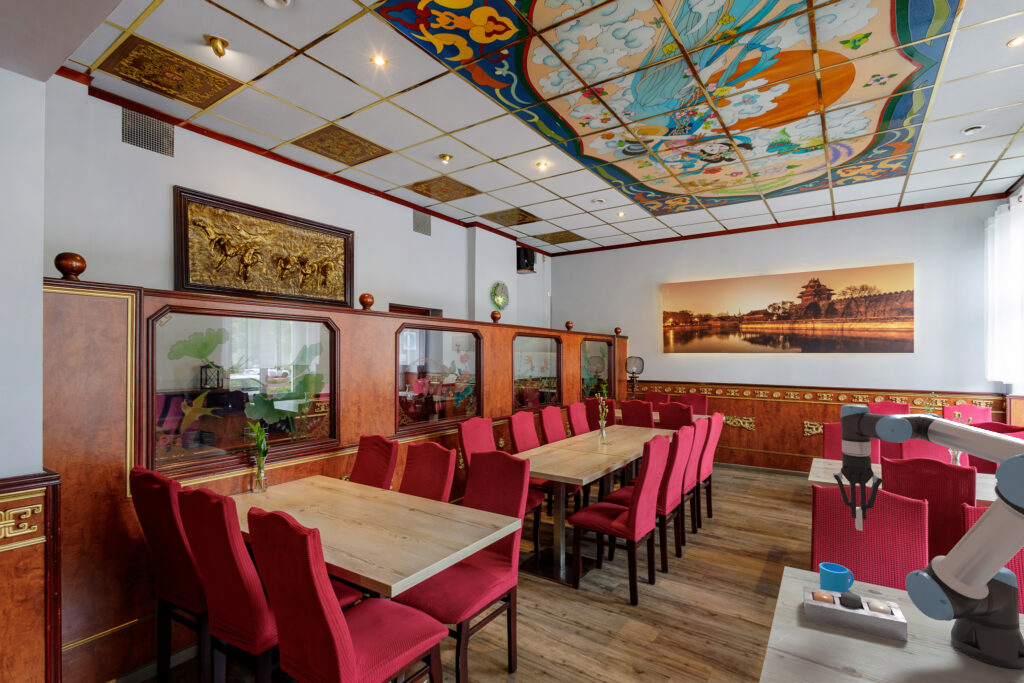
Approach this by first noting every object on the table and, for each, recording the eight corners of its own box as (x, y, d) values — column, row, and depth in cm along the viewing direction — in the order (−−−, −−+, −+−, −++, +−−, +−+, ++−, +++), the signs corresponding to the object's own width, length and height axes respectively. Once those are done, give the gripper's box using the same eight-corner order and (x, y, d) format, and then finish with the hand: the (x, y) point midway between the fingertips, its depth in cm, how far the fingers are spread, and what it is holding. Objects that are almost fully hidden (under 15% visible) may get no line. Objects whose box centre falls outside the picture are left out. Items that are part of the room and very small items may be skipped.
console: (897, 619, 143) (896, 602, 143) (907, 641, 132) (906, 622, 133) (803, 601, 154) (803, 586, 154) (806, 620, 144) (805, 603, 144)
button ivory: (889, 618, 141) (888, 604, 141) (893, 627, 137) (892, 612, 137) (868, 614, 144) (867, 600, 144) (871, 622, 139) (871, 608, 139)
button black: (860, 607, 145) (859, 594, 145) (862, 615, 140) (862, 601, 140) (840, 604, 147) (839, 590, 147) (842, 611, 142) (841, 598, 143)
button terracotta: (832, 607, 148) (832, 594, 148) (834, 615, 143) (834, 601, 144) (813, 603, 150) (813, 590, 150) (814, 611, 146) (814, 598, 146)
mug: (835, 599, 155) (834, 574, 156) (814, 588, 163) (813, 563, 164) (865, 595, 158) (864, 570, 158) (842, 584, 166) (842, 560, 166)
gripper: (879, 453, 152) (882, 528, 151) (830, 450, 158) (833, 522, 158) (884, 457, 146) (887, 536, 145) (833, 454, 152) (835, 529, 151)
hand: (859, 528), depth 151 cm, fingers closed
